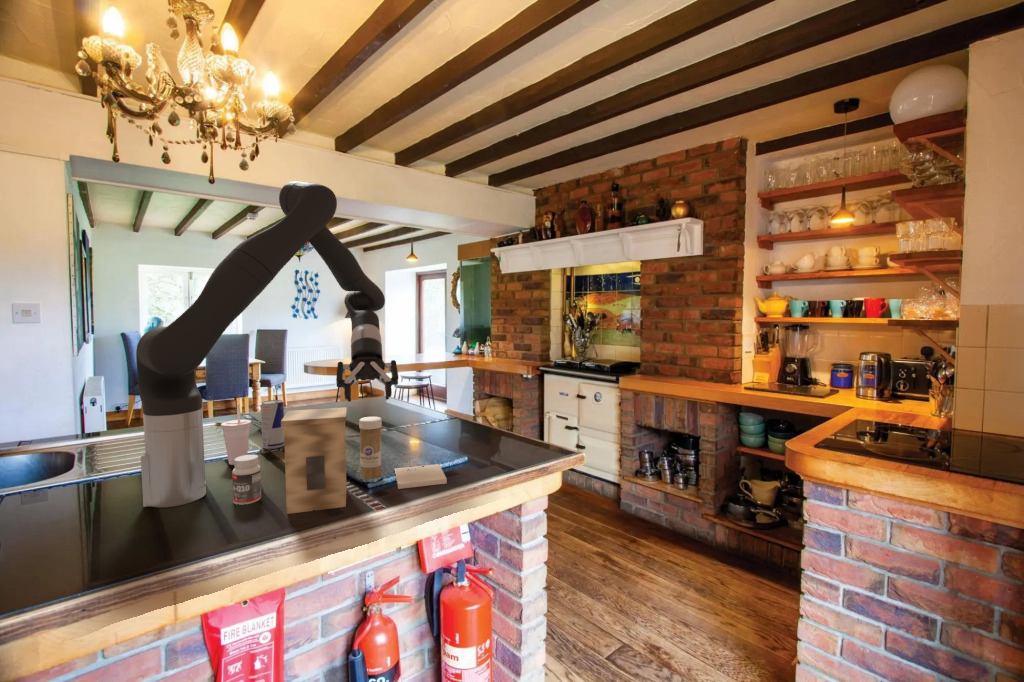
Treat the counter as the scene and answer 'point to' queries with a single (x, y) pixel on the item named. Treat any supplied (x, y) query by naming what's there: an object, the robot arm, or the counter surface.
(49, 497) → the counter surface
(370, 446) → the sprinkles bottle
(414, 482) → the tile
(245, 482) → the pill bottle
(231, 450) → the smoothie
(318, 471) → the box
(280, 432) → the energy drink
